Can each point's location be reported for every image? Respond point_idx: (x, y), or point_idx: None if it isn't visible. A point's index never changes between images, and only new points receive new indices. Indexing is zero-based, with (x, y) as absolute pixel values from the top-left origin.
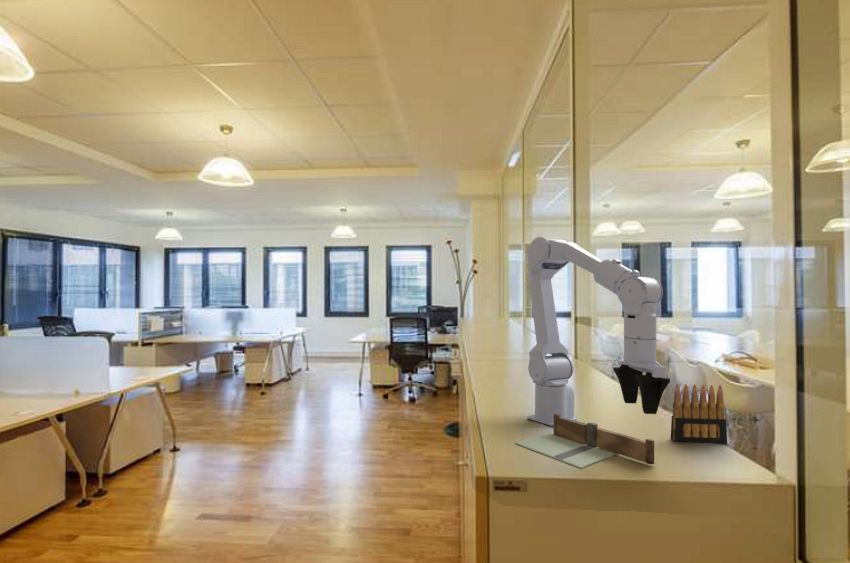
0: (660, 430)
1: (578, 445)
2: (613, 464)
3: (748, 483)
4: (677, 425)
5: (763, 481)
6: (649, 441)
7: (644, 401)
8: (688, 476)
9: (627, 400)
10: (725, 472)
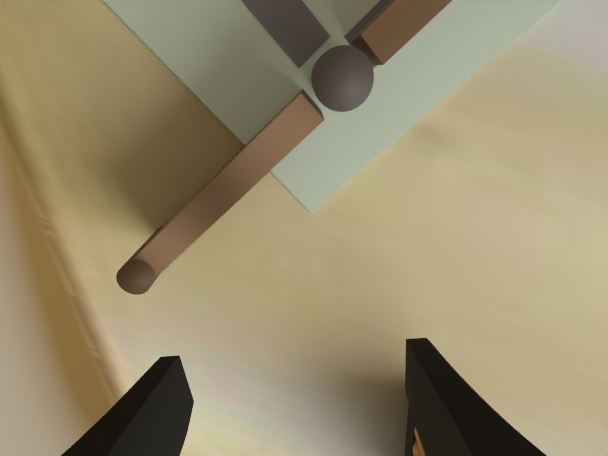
0: (532, 391)
1: (330, 4)
2: (145, 107)
3: None
4: None
5: None
6: (118, 273)
7: (104, 415)
8: (120, 307)
9: (412, 360)
10: None
